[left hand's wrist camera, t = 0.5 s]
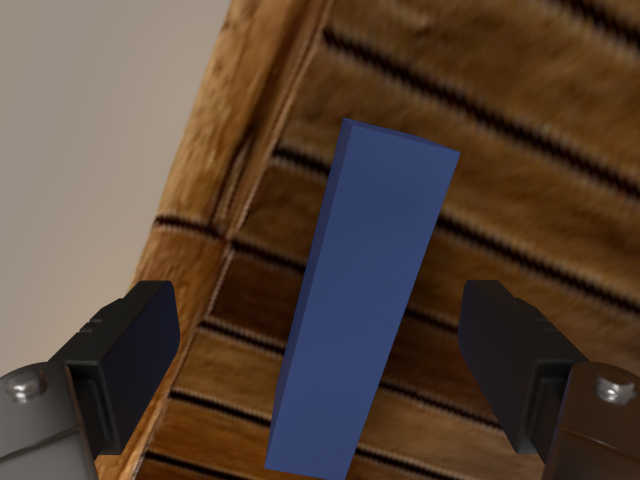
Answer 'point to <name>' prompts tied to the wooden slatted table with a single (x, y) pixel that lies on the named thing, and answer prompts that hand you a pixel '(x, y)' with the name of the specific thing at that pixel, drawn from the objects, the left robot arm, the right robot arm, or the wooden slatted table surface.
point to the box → (354, 293)
